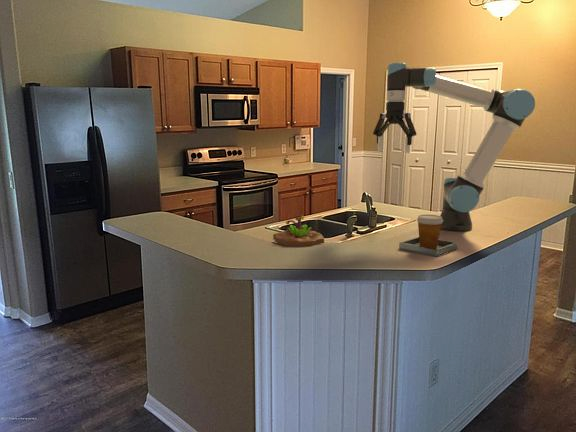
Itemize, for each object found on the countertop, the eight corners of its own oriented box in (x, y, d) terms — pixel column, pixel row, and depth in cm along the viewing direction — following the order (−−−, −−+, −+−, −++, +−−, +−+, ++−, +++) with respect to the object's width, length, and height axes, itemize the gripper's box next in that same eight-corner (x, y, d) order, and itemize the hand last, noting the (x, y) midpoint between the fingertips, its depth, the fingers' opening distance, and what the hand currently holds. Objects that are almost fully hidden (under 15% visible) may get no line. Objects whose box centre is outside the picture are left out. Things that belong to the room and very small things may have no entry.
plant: (285, 249, 184) (285, 220, 182) (268, 238, 202) (267, 211, 200) (332, 244, 192) (332, 216, 190) (311, 233, 210) (311, 208, 207)
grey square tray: (421, 241, 194) (421, 235, 194) (457, 249, 183) (457, 242, 182) (399, 248, 184) (399, 242, 183) (436, 257, 172) (436, 250, 172)
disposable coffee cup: (440, 245, 186) (442, 214, 184) (441, 251, 177) (443, 219, 175) (415, 243, 189) (417, 213, 187) (415, 249, 180) (416, 218, 178)
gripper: (366, 101, 208) (364, 151, 213) (416, 100, 191) (414, 154, 195) (376, 102, 213) (374, 150, 218) (426, 100, 196) (423, 153, 200)
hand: (393, 152), depth 206 cm, fingers open, 13 cm apart
